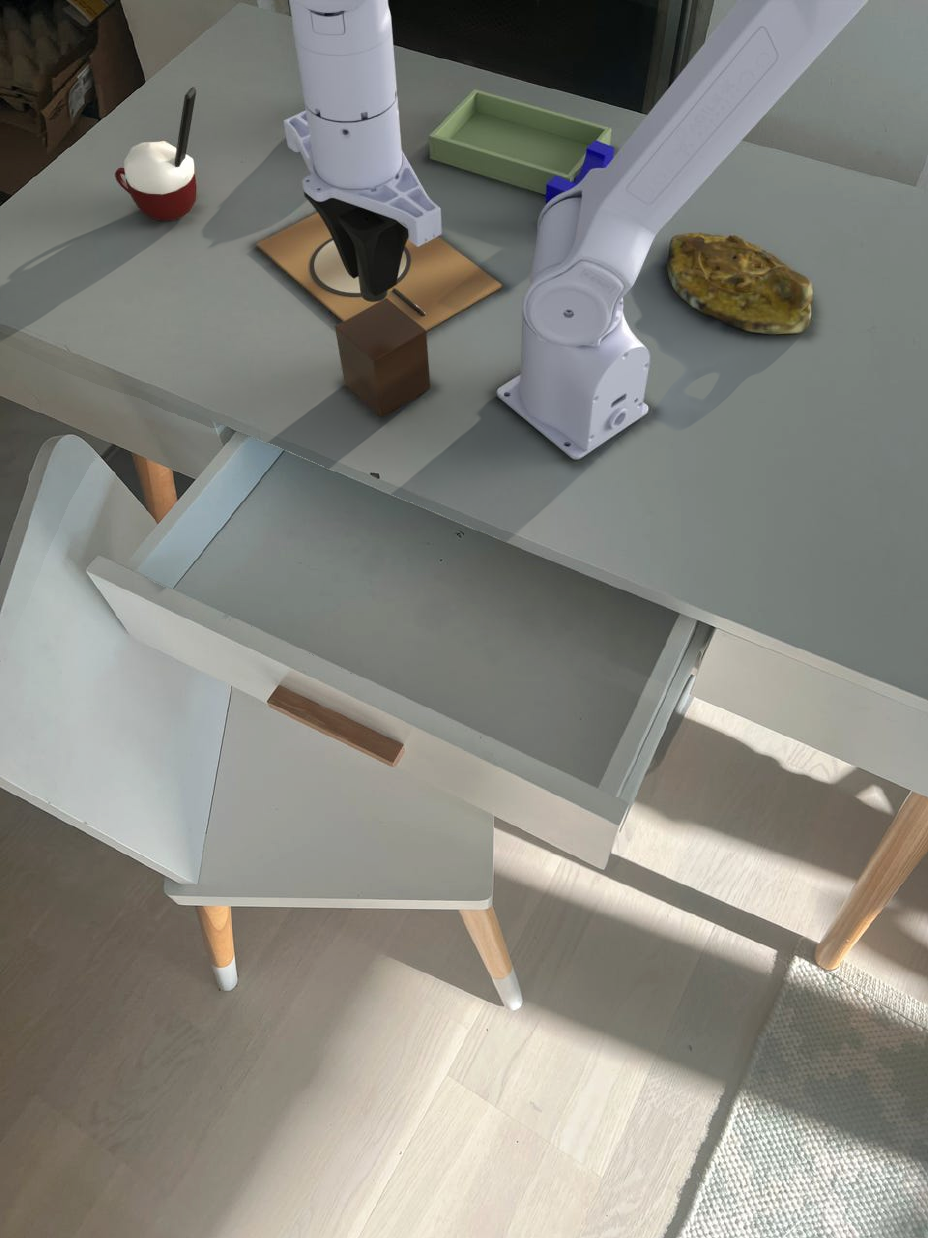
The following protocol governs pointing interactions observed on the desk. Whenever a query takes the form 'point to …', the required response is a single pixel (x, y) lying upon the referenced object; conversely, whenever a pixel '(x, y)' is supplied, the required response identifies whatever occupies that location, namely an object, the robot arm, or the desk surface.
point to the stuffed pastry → (739, 283)
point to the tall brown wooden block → (384, 356)
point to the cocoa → (162, 173)
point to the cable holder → (582, 169)
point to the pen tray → (514, 141)
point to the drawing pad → (423, 290)
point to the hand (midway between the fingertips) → (372, 279)
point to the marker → (363, 288)
